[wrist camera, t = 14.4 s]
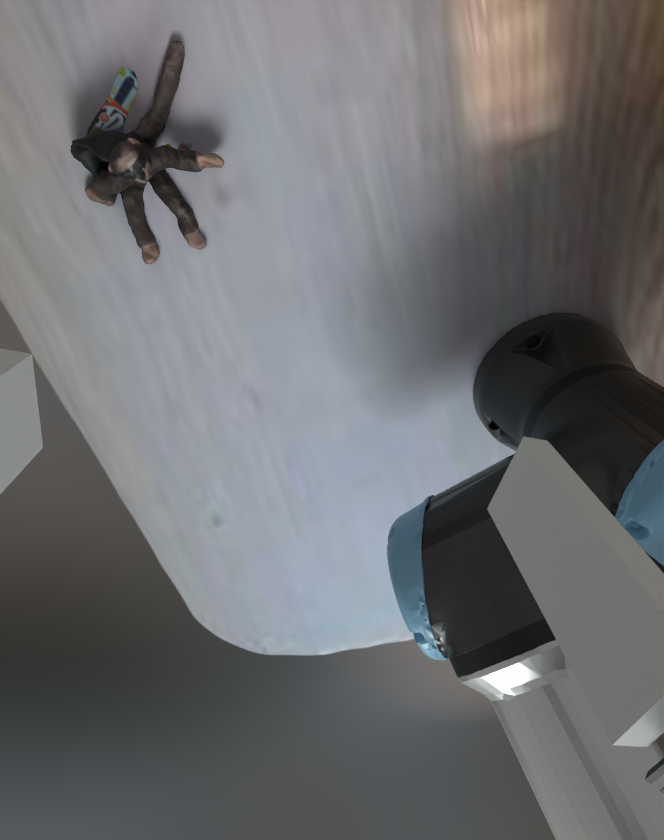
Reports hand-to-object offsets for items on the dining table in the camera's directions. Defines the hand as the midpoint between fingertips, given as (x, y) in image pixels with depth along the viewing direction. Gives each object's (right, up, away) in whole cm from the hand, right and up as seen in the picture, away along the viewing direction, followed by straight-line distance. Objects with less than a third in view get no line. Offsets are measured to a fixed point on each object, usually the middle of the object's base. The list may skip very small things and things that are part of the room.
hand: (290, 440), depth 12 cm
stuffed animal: (-13, +22, +24) cm, 35 cm away
